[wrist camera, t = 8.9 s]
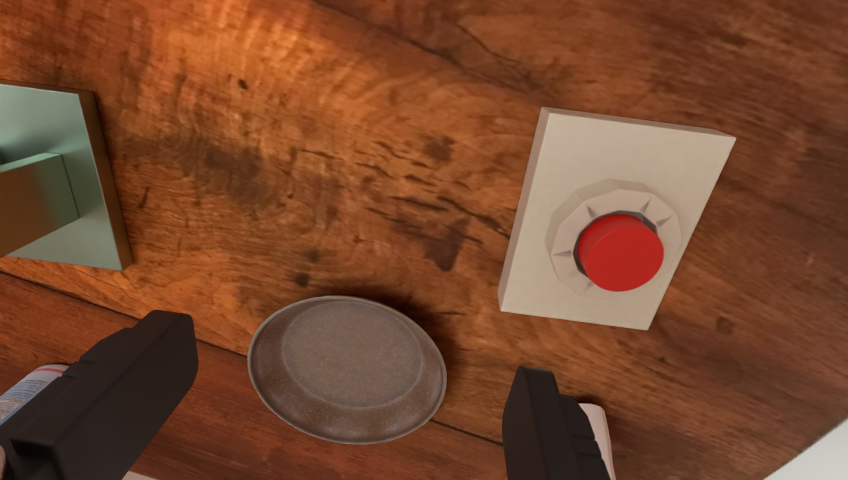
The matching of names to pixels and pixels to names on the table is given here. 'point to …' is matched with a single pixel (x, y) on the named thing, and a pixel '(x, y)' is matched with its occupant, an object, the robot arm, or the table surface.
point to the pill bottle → (28, 389)
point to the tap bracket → (57, 179)
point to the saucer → (347, 369)
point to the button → (620, 252)
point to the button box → (604, 209)
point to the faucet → (600, 434)
